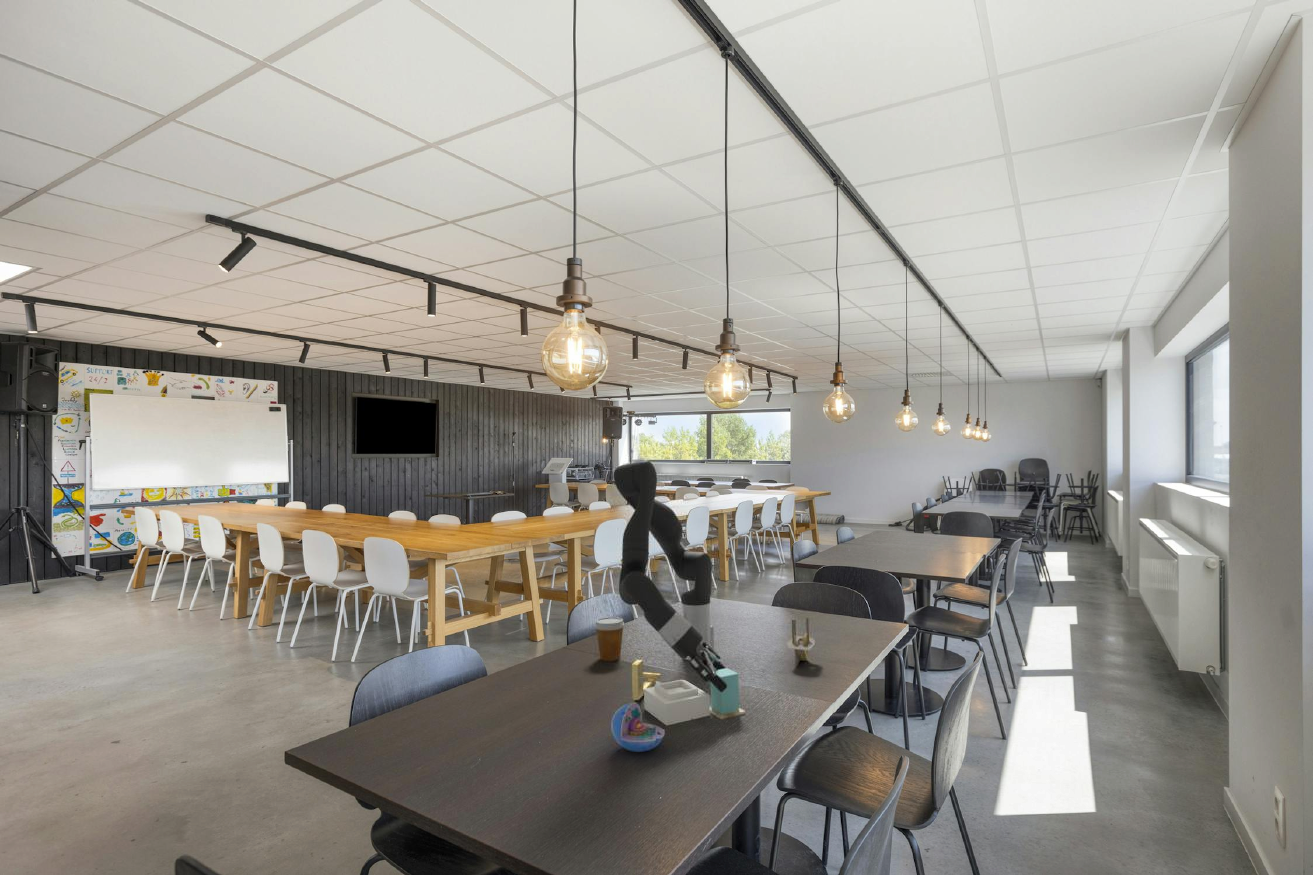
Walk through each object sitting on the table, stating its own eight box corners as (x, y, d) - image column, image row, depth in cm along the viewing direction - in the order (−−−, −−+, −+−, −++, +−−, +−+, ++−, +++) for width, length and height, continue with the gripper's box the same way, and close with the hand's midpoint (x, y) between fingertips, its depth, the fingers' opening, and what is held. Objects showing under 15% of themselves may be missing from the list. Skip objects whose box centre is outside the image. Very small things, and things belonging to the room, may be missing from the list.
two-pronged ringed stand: (841, 656, 203) (840, 610, 204) (833, 681, 180) (831, 630, 181) (775, 650, 211) (773, 607, 212) (758, 674, 188) (757, 625, 188)
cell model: (653, 763, 133) (652, 716, 133) (603, 754, 138) (602, 708, 138) (673, 744, 142) (671, 700, 142) (625, 735, 147) (624, 693, 147)
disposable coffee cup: (627, 653, 210) (626, 616, 211) (622, 662, 201) (621, 623, 201) (598, 653, 211) (597, 616, 212) (592, 662, 202) (591, 623, 202)
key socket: (656, 680, 183) (656, 679, 183) (666, 687, 178) (666, 685, 178) (637, 684, 181) (637, 683, 181) (646, 691, 175) (646, 689, 175)
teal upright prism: (728, 704, 163) (727, 667, 163) (739, 710, 158) (738, 673, 159) (711, 707, 161) (710, 671, 161) (721, 714, 156) (720, 677, 157)
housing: (685, 699, 168) (685, 675, 168) (710, 715, 158) (709, 689, 158) (644, 708, 163) (643, 683, 163) (666, 725, 152) (665, 698, 152)
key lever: (644, 681, 181) (644, 648, 182) (661, 682, 180) (660, 649, 180) (626, 699, 168) (625, 663, 168) (644, 701, 166) (643, 665, 167)
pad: (729, 704, 164) (729, 701, 164) (745, 713, 158) (745, 711, 158) (706, 709, 161) (706, 707, 161) (721, 719, 155) (721, 716, 155)
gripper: (685, 632, 155) (734, 682, 152) (695, 617, 169) (740, 663, 166) (664, 653, 156) (712, 704, 153) (675, 637, 170) (720, 683, 167)
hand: (726, 683), depth 160 cm, fingers open, 8 cm apart
